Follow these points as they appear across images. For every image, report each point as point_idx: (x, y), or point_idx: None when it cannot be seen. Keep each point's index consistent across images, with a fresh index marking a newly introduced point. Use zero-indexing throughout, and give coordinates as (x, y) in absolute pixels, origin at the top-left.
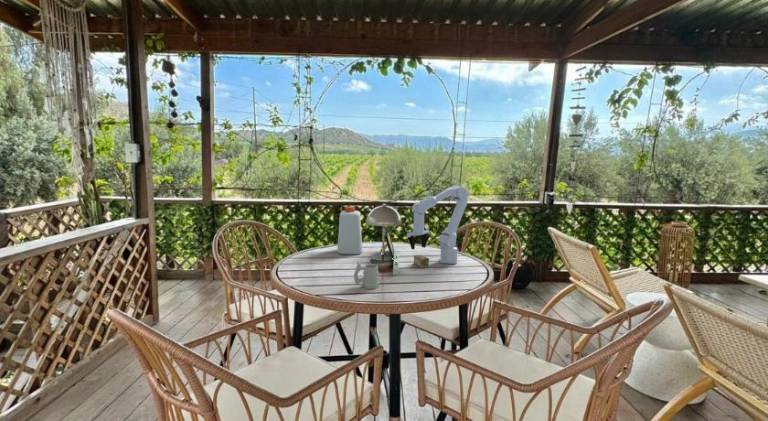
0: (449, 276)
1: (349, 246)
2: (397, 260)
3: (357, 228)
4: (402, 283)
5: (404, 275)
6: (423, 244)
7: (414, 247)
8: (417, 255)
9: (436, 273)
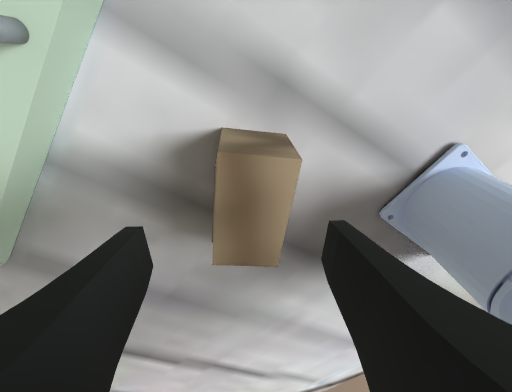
0: (255, 341)
1: None
2: (10, 122)
3: None
4: None
5: (51, 275)
6: (341, 274)
7: (141, 296)
8: (247, 169)
9: (232, 306)
